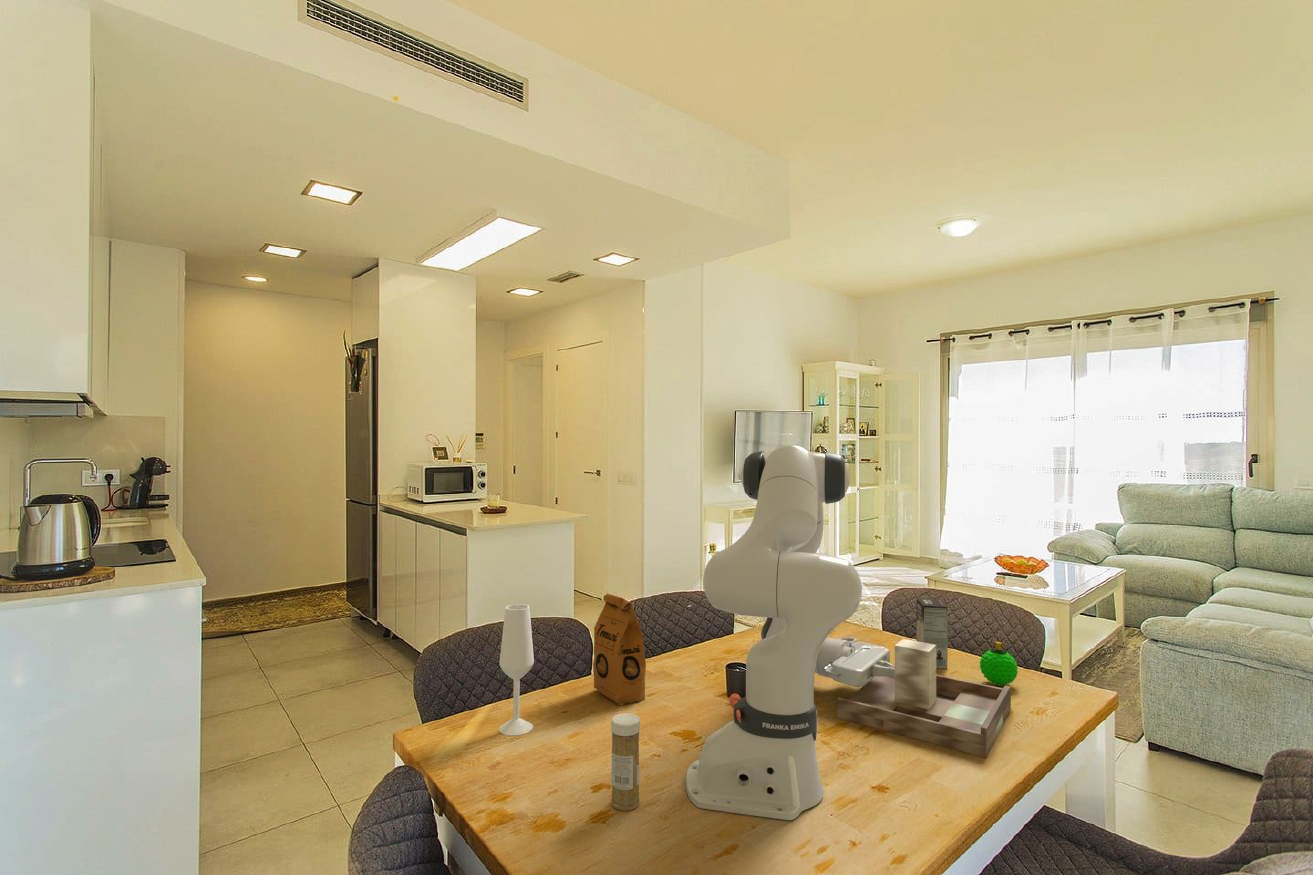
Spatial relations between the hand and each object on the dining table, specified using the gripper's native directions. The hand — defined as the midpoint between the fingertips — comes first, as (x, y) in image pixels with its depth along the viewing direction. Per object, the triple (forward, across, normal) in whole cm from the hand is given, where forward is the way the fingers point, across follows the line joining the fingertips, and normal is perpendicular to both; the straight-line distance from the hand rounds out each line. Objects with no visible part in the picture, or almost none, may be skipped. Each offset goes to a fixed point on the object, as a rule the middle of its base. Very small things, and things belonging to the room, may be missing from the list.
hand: (898, 672), depth 140 cm
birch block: (+4, 0, +5) cm, 6 cm away
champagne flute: (-57, -58, +8) cm, 82 cm away
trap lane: (+6, 0, +7) cm, 9 cm away
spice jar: (-23, -66, +8) cm, 70 cm away
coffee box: (-2, +35, +8) cm, 36 cm away
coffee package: (-52, -33, +8) cm, 62 cm away
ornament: (+15, +28, +8) cm, 33 cm away
